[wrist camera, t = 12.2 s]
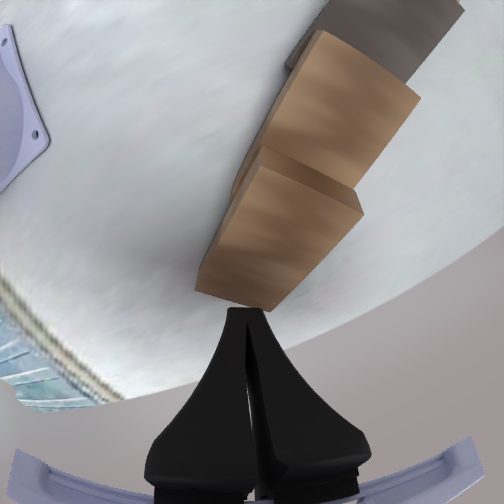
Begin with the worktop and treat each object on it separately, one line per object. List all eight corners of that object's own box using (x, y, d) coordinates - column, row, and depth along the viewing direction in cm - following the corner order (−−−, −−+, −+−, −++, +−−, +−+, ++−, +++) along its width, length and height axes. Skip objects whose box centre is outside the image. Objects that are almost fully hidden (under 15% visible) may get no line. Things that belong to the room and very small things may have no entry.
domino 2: (194, 290, 14) (260, 165, 9) (199, 266, 15) (261, 145, 10) (269, 312, 16) (364, 214, 10) (270, 289, 17) (355, 190, 11)
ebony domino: (286, 66, 9) (386, -60, 4) (285, 61, 10) (374, -52, 5) (372, 123, 10) (464, 10, 5) (362, 111, 11) (447, 8, 6)
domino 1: (230, 200, 12) (323, 30, 7) (234, 180, 13) (316, 30, 8) (316, 234, 13) (421, 98, 8) (312, 213, 14) (404, 87, 9)
